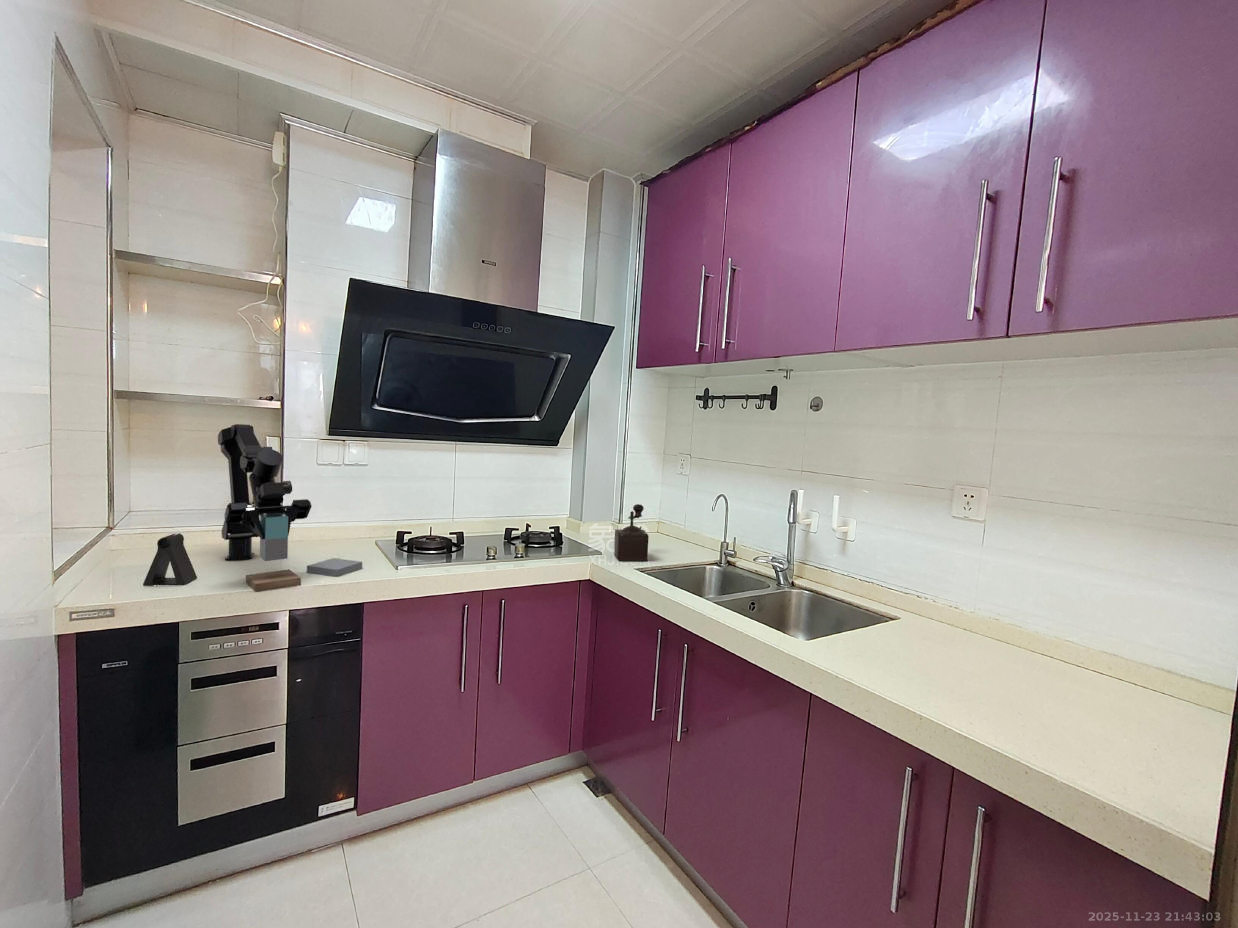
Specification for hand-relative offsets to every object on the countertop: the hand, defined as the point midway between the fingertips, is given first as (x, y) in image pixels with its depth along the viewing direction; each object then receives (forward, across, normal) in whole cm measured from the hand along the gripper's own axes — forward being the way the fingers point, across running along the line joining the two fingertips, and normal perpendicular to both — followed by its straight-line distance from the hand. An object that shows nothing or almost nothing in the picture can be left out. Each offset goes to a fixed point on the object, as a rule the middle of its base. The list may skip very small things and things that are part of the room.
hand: (275, 537), depth 140 cm
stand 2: (+5, +17, +13) cm, 22 cm away
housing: (+3, 0, +5) cm, 6 cm away
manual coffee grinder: (+30, +103, -12) cm, 108 cm away
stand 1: (+8, 0, +10) cm, 12 cm away
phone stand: (-3, -19, +21) cm, 28 cm away
